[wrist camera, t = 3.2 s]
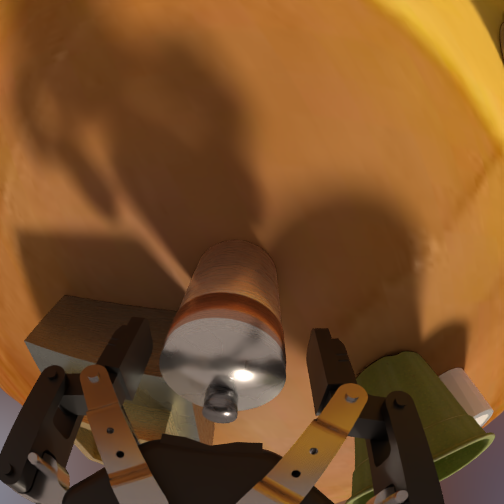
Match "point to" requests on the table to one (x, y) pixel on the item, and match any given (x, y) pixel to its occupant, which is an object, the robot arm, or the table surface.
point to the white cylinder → (467, 395)
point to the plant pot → (431, 415)
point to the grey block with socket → (90, 349)
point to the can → (227, 333)
